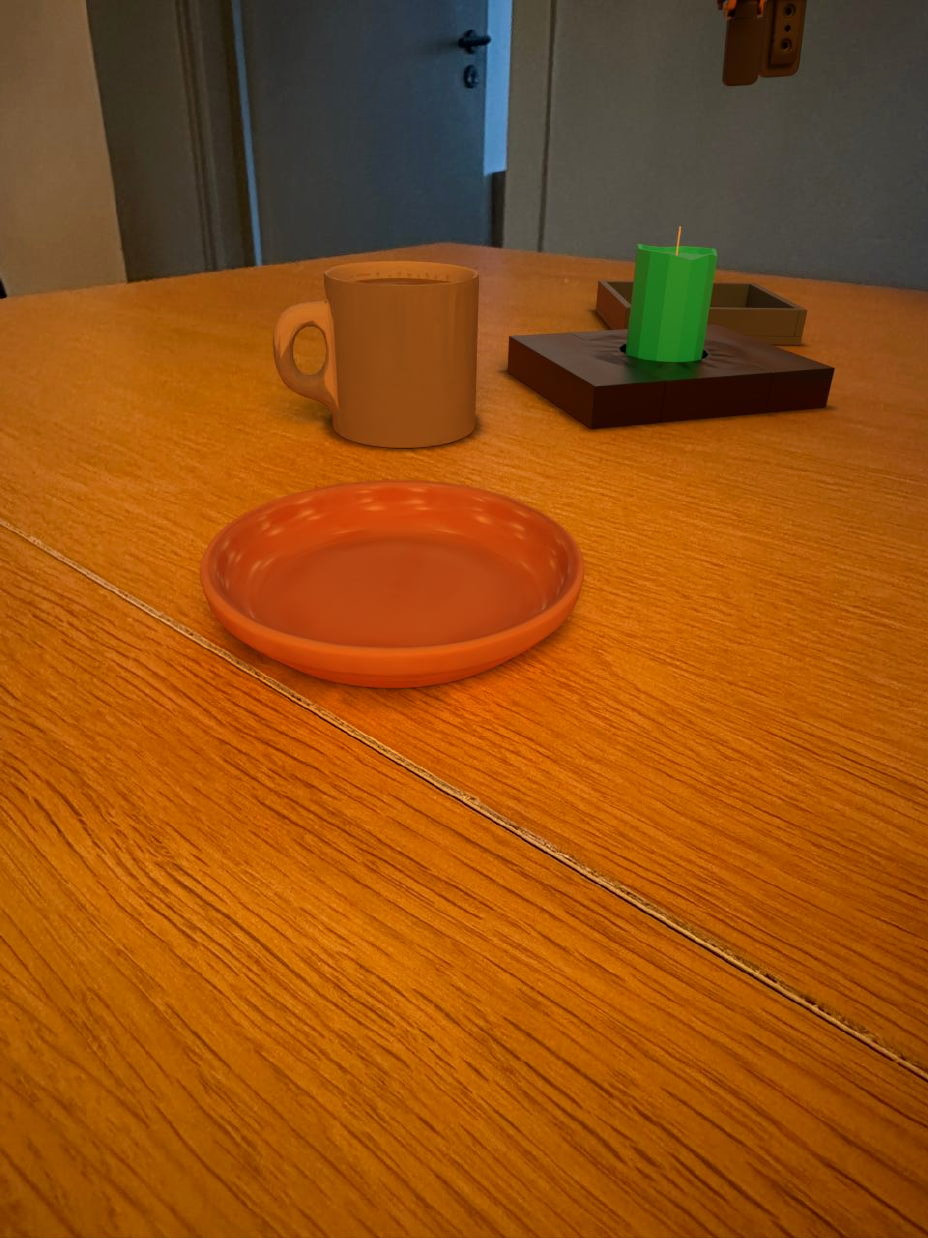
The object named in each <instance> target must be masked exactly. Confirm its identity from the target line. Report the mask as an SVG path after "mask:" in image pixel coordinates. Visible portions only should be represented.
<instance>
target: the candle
mask: <svg viewBox="0 0 928 1238" xmlns="http://www.w3.org/2000/svg"><path fill="white" fill-rule="evenodd" d="M681 231H682V226H681V225H679V227H678V233H677V241H676V246H654V245H648V244H642V243H637V247H636V257H635V265H634V272H633V273H634V274H633V281H634V282H633V290H632V299H631V308H630V317H629V326H628V335H627V344H626V352H625V354H627V355H629V356H632V357H636V358H640V359H646V360H653V361H663V362H687V361H696V360H700V359H702V352H703V346H704V340H705V333H706V327H707V320H708V314H709V308H710V301H711V295H712V289H713V282H715V276H716V268H717V264H718V256H719V255H718V253H717V249H716V248H714V247H701V246H686V245H680V240H681Z"/></svg>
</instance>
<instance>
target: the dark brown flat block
mask: <svg viewBox="0 0 928 1238" xmlns="http://www.w3.org/2000/svg"><path fill="white" fill-rule="evenodd" d="M627 335H628V329H622V330H611V329H606V330H589V331H588V330H587V331H571V332H554V333H535V334H519V335H508V349H507V350H508V351H507V371H506V372H507V373H508V374H510V375H511V376H512V377H514V378H516V379H517V380H519V381H520V382H521V383H523V384H525V385H526V386H528V387H529V388H531V390H533V391H535V392H537V394H540V396H542V397H544V398H545V399H547V400H548V401H550V402H551V403H553V404H554V405H555V406H557V407H558V408H560V410H563V411H564V412H566V413H567V414H569V415H570V416H572V417H573V418H574V419H576V420H577V421H579V422H580V423H582V424H584V425H585V426H586V427H588V428H589V429H591V430H594V429H605V428H614V427H615V428H616V427H624V426H625V427H627V426H635V425H636V426H637V425H638V426H639V425H649V424H658V423H667V422H668V423H669V422H680V421H690V420H698V419H699V420H701V419H711V418H723V417H732V416H733V417H734V416H743V415H755V414H764V413H775V412H777V413H778V412H786V411H787V412H788V411H797V410H809V409H819V408H826V407H827V405H828V399H829V395H830V391H831V388H832V382H833V379H834V374H835V369H836V368H835V367H833V366H832V365H831V366H830V365H828V364H826V363H823V362H820V361H817V360H814V359H811V358H809V357H806V356H803V355H800V354H798V353H795V352H792V351H790V350H787V349H784V348H781V347H778V346H777V345H770V344H768V343H765V342H762V341H759V340H757V339H754V338H751V337H749V336H746V335H743V334H740V333H738V332H735V331H732V330H729V329H727V328H724V327H721V326H718V325H716V324H712V325H707V327H706V333H705V340H704V346H703V352H702V359H700V360H696V361H687V362H663V361H653V360H646V359H640V358H636V357H632V356H629V355H627V354H625V352H626V344H627Z"/></svg>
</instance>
